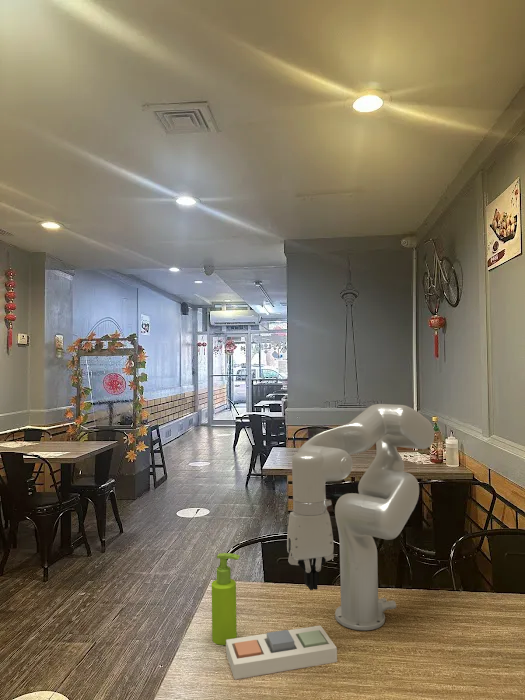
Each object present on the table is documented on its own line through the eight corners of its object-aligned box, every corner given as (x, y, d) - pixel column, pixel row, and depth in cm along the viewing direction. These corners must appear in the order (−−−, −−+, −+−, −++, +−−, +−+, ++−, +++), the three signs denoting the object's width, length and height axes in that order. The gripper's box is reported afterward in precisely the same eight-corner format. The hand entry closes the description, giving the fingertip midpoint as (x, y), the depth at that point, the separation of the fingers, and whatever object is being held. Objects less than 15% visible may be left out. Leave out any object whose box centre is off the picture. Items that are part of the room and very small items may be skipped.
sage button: (318, 638, 116) (318, 630, 116) (326, 650, 111) (326, 641, 111) (298, 642, 115) (298, 633, 115) (305, 654, 110) (305, 644, 110)
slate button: (287, 638, 114) (287, 629, 114) (294, 650, 109) (294, 641, 110) (266, 641, 113) (266, 632, 113) (272, 653, 108) (272, 644, 108)
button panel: (320, 638, 119) (320, 625, 119) (337, 661, 109) (336, 647, 109) (226, 653, 113) (225, 639, 113) (234, 679, 103) (234, 664, 104)
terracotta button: (256, 648, 112) (256, 639, 112) (261, 661, 108) (261, 651, 108) (234, 652, 111) (234, 643, 111) (238, 664, 106) (238, 655, 106)
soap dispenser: (237, 646, 116) (236, 559, 116) (209, 644, 117) (208, 558, 118) (243, 633, 121) (242, 550, 122) (216, 631, 123) (215, 549, 124)
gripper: (333, 499, 120) (335, 576, 119) (273, 505, 116) (276, 584, 116) (346, 508, 112) (348, 590, 112) (283, 514, 109) (285, 599, 108)
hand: (311, 587), depth 114 cm, fingers closed
